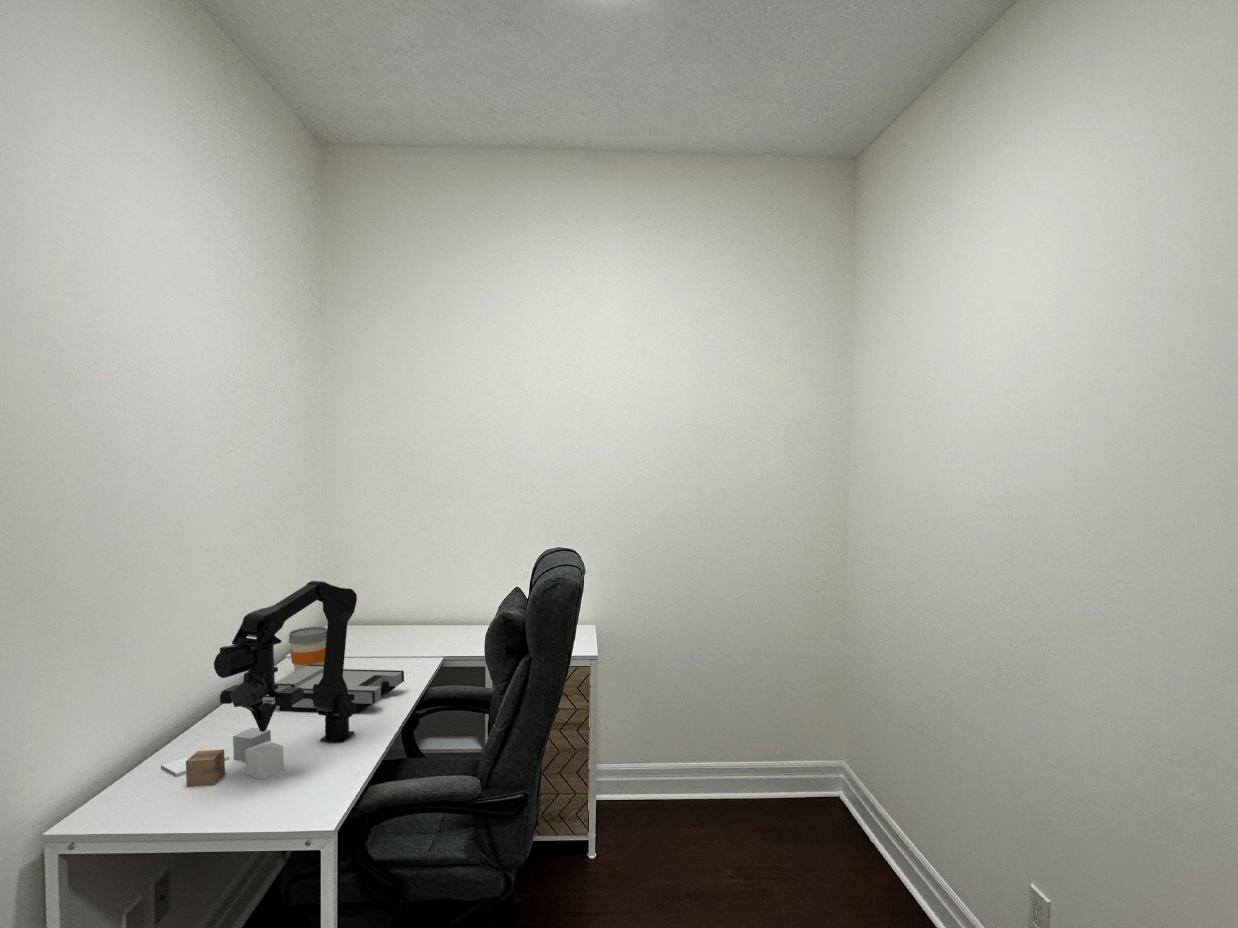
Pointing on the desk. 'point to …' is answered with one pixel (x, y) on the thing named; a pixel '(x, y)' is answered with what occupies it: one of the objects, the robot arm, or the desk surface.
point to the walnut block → (205, 768)
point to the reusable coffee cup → (307, 646)
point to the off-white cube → (264, 759)
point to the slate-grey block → (248, 741)
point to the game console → (360, 684)
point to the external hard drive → (179, 766)
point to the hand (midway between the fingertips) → (263, 731)
